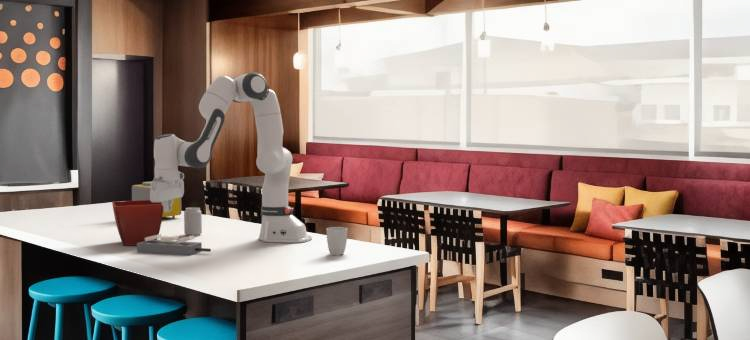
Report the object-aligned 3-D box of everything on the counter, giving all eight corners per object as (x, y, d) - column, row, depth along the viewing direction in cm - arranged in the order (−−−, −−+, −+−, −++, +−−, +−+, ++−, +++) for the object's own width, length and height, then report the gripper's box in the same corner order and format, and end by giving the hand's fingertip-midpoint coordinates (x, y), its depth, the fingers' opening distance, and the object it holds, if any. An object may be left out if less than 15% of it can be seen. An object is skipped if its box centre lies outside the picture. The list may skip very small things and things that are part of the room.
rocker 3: (194, 238, 331) (193, 235, 331) (190, 240, 328) (189, 236, 328) (181, 242, 333) (180, 238, 333) (177, 243, 330) (176, 239, 330)
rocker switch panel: (215, 252, 332) (215, 242, 332) (204, 256, 324) (204, 246, 323) (149, 248, 340) (149, 239, 340) (137, 252, 332) (136, 242, 332)
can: (197, 236, 371) (197, 209, 370) (181, 236, 373) (181, 208, 372) (204, 234, 378) (204, 207, 378) (188, 233, 380) (188, 206, 379)
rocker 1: (161, 237, 335) (161, 233, 335) (157, 238, 332) (156, 234, 332) (149, 240, 337) (148, 236, 337) (145, 241, 334) (144, 237, 334)
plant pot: (112, 240, 359) (111, 200, 358) (159, 238, 366) (158, 199, 365) (116, 248, 342) (115, 206, 340) (165, 245, 348) (164, 204, 347)
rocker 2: (177, 239, 333) (177, 235, 333) (173, 240, 330) (173, 236, 330) (165, 240, 335) (164, 236, 335) (160, 241, 332) (160, 237, 332)
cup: (336, 251, 334) (336, 226, 333) (351, 254, 329) (351, 228, 328) (322, 254, 328) (321, 228, 327) (337, 256, 322) (337, 230, 322)
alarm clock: (163, 215, 440) (163, 179, 439) (182, 218, 430) (182, 181, 429) (130, 219, 426) (129, 182, 424) (149, 222, 415) (148, 184, 414)
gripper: (159, 178, 321) (161, 215, 322) (186, 174, 341) (187, 208, 342) (144, 178, 323) (146, 214, 324) (172, 173, 342) (173, 208, 343)
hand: (167, 211), depth 333 cm, fingers closed
